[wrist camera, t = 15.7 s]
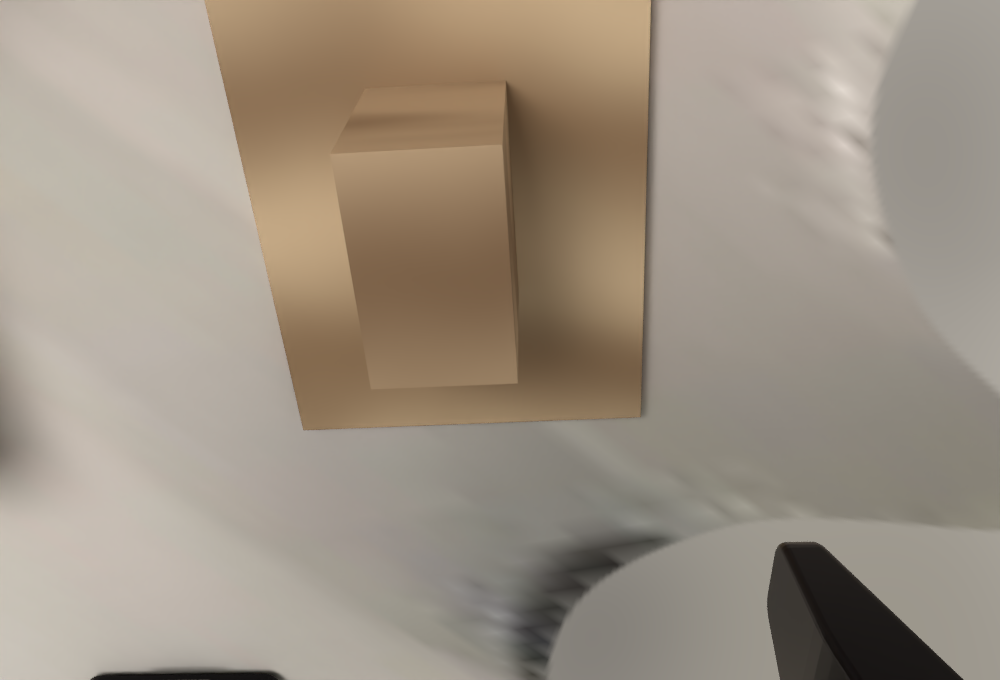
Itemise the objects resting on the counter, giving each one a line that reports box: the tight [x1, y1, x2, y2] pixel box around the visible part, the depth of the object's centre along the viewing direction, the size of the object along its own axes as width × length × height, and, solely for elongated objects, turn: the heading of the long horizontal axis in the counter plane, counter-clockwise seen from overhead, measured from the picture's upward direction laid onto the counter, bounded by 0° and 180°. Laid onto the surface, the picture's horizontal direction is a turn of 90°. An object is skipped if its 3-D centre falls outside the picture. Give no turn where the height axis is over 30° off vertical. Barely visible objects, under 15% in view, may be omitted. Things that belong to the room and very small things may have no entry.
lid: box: [205, 0, 651, 430], centre depth 18 cm, size 16×9×5 cm, turn 4°
